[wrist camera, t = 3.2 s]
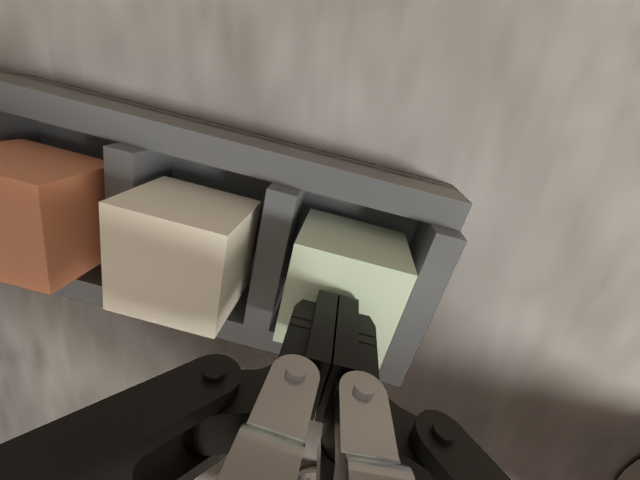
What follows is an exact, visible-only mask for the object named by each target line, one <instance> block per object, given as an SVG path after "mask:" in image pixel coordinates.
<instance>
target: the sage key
mask: <svg viewBox="0 0 640 480" xmlns="http://www.w3.org/2000/svg"><path fill="white" fill-rule="evenodd" d="M417 277H418V275H417V272H416V268H415V265H414V262H413V259H412V256H411V252H410V249H409V246H408V243H407V239H406V236H405V233H403V232H399V231H395V230H391V229H387V228H384V227H380V226H376V225H372V224H368V223H365V222H361V221H357V220H353V219H349V218H345V217H342V216H338V215H334V214H330V213H326V212H323V211H319V210H315V209H310V211H309V213H308V215H307V217H306V219H305V221H304V224H303V226H302V228H301V230H300V232H299V234H298V236H297V238H296V241H295V243H294V247H293V251H292V256H291V260H290V265H289V269H288V274H287V278H286V282H285V287H284V291H283V296H282V300H281V305H280V309H279V314H278V318H277V323H276V327H275V332H274V336H273V341H276V342H280V343H283V341H284V337H285V334H286V331H287V328H288V325H289V321H290V318H291V315H292V312H293V309H294V306H295V305H296V304H297V303H298V302H300V301H301V300H302V299H304V300H308V301H312V302H316V300H317V296H318V292H319V290H323V291H327V292H331V293H335V294H338V297H339V295H343V296H347V297H351V298H355V299H358V300H359V314H363V315H367V316H370V318H371V319H372V321H373V323H374V324H375V326H376V336H377V337H376V339H377V350H378V364H379V369H380V367H381V364H382V362H383V360H384V357H385V355H386V352H387V350H388V347H389V345H390V343H391V340H392V338H393V335H394V333H395V330H396V328H397V326H398V323H399V321H400V318H401V316H402V313H403V311H404V309H405V306H406V304H407V301H408V299H409V296H410V294H411V291H412V289H413V287H414V284H415V282H416V279H417Z"/></svg>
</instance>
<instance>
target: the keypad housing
mask: <svg viewBox="0 0 640 480" xmlns="http://www.w3.org/2000/svg"><path fill="white" fill-rule="evenodd" d="M22 138H23V139H26V140H30V141H34V142H38V143H42V144H45V145H49V146H53V147H57V148H61V149H64V150H68V151H72V152H76V153H80V154H83V155H87V156H91V157H95V158H99V159H102V160H104V185H105V199H107V198H110V197H112V196H115V195H117V194H120V193H122V192H125V191H127V190H130V189H132V188H135V187H137V186H140V185H142V184H145V183H147V182H150V181H153V180H155V179H158V178H160V177H163V176H167V177H171V178H175V179H179V180H182V181H186V182H190V183H194V184H198V185H201V186H205V187H209V188H213V189H217V190H220V191H224V192H228V193H232V194H236V195H239V196H243V197H247V198H251V199H255V200H259V201H262V202H261V207H260V213H259V219H258V225H257V231H256V237H255V243H254V249H253V255H252V261H251V267H250V273H249V279H248V285H247V287H246V288H245V290H244V292H243V293H242V295H241V297H240V298H239V300H238V301H237V303H236V305H235V306H234V308H233V310H232V311H231V313H230V314H229V316H228V318H227V319H226V321H225V323H224V324H223V326H222V328H221V329H220V331H219V332H218V334H217V336H216V337H215V338H219V339H223V340H227V341H230V342H234V343H238V344H241V345H245V346H249V347H253V348H256V349H260V350H264V351H267V352H271V353H275V354H279V353H280V350H281V347H282V344H283V343H280V342H276V341H273V336H274V332H275V327H276V323H277V318H278V314H279V309H280V305H281V300H282V296H283V291H284V287H285V282H286V278H287V274H288V269H289V265H290V260H291V256H292V251H293V247H294V243H295V241H296V238H297V236H298V234H299V232H300V230H301V228H302V226H303V224H304V221H305V219H306V217H307V215H308V213H309V211H310V209H315V210H319V211H323V212H326V213H330V214H334V215H338V216H342V217H345V218H349V219H353V220H357V221H361V222H365V223H368V224H372V225H376V226H380V227H384V228H387V229H391V230H395V231H399V232H403V233H405V236H406V239H407V243H408V246H409V249H410V252H411V256H412V259H413V262H414V265H415V268H416V272H417V275H418V277H417V279H416V282H415V284H414V287H413V289H412V291H411V294H410V296H409V299H408V301H407V304H406V306H405V309H404V311H403V313H402V316H401V318H400V321H399V323H398V326H397V328H396V330H395V333H394V335H393V338H392V340H391V343H390V345H389V347H388V350H387V352H386V355H385V357H384V360H383V362H382V364H381V367H380V369H379V378H380V382H383V383H386V384H390V385H394V386H397V387H400V386H401V384H402V382H403V380H404V378H405V376H406V373H407V371H408V369H409V367H410V365H411V362H412V360H413V358H414V356H415V354H416V352H417V349H418V347H419V345H420V343H421V341H422V339H423V336H424V334H425V332H426V330H427V328H428V325H429V323H430V321H431V319H432V317H433V315H434V312H435V310H436V308H437V306H438V304H439V301H440V299H441V297H442V295H443V293H444V291H445V288H446V286H447V284H448V282H449V280H450V278H451V275H452V273H453V271H454V269H455V267H456V264H457V262H458V260H459V258H460V256H461V254H462V251H463V249H464V247H465V245H466V243H467V240H466V239H465V237H464V236H463V235H462V233H461V232H460V231H461V228H462V226H463V224H464V222H465V219H466V217H467V215H468V213H469V210H470V208H471V206H472V203H471V202H470V201H469V200H468V199H467V198H466V197H465V196H464V195H463V194H462V193H461V192H460V191H459V190H458V189H457V188H455V187H454V186H453V185H450V184H446V183H442V182H438V181H434V180H431V179H427V178H423V177H419V176H415V175H411V174H407V173H404V172H400V171H396V170H392V169H388V168H384V167H381V166H377V165H373V164H369V163H365V162H361V161H357V160H354V159H350V158H346V157H342V156H338V155H334V154H330V153H327V152H323V151H319V150H315V149H311V148H307V147H304V146H300V145H296V144H292V143H288V142H284V141H280V140H277V139H273V138H269V137H265V136H261V135H257V134H254V133H250V132H246V131H242V130H238V129H234V128H230V127H227V126H223V125H219V124H215V123H211V122H207V121H204V120H200V119H196V118H192V117H188V116H184V115H180V114H177V113H173V112H169V111H165V110H161V109H157V108H153V107H150V106H146V105H142V104H138V103H134V102H130V101H127V100H123V99H119V98H115V97H111V96H107V95H103V94H100V93H96V92H92V91H88V90H84V89H80V88H77V87H73V86H69V85H65V84H61V83H57V82H53V81H50V80H46V79H42V78H38V77H34V76H30V75H20V74H5V73H0V141H6V140H14V139H22ZM53 294H56V295H59V296H63V297H67V298H71V299H74V300H78V301H82V302H85V303H89V304H93V305H97V306H100V307H103V293H102V270H101V264H99V265H97V266H96V267H94V268H93V269H91V270H90V271H88V272H86V273H85V274H83V275H82V276H80V277H78V278H77V279H75V280H74V281H72V282H71V283H69V284H67V285H66V286H64V287H63V288H61V289H60V290H58V291H56V292H55V293H53Z"/></svg>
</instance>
